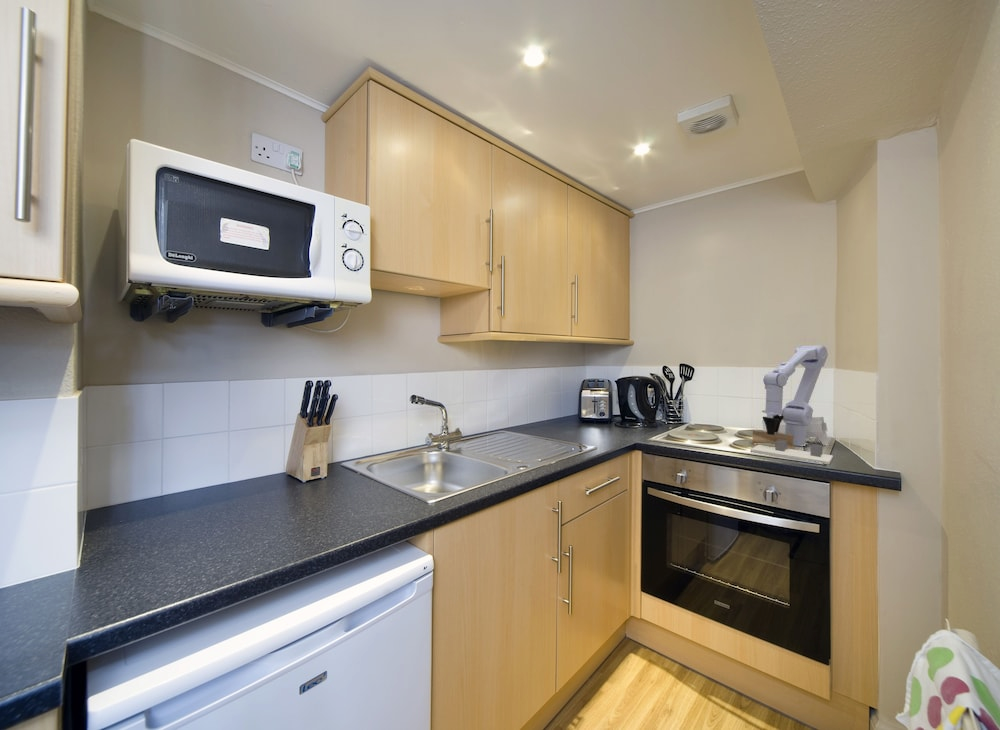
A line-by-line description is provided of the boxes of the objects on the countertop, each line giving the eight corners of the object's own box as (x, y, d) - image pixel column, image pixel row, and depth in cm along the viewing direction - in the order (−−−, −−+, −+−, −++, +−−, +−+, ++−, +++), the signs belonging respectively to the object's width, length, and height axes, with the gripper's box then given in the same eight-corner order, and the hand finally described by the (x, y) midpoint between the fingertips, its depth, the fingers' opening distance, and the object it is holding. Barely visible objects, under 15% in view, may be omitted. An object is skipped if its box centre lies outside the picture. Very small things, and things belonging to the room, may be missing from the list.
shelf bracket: (824, 447, 169) (818, 417, 171) (764, 446, 191) (760, 419, 193) (831, 446, 171) (825, 416, 173) (771, 445, 193) (767, 419, 195)
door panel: (753, 443, 173) (754, 430, 173) (793, 449, 163) (793, 435, 163) (752, 444, 172) (752, 430, 171) (792, 450, 162) (792, 435, 162)
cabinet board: (758, 446, 167) (758, 436, 167) (832, 458, 150) (833, 446, 150) (750, 451, 157) (751, 440, 157) (829, 464, 141) (829, 452, 141)
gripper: (766, 399, 175) (765, 429, 175) (758, 401, 164) (757, 434, 165) (786, 400, 170) (784, 432, 170) (779, 403, 160) (777, 436, 160)
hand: (772, 433), depth 167 cm, fingers open, 7 cm apart
